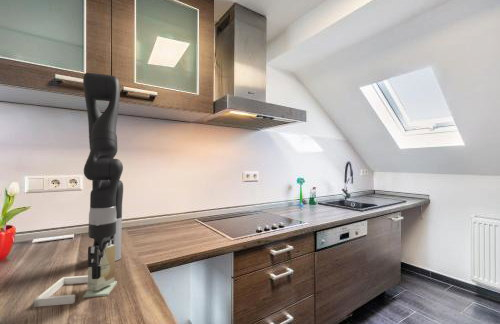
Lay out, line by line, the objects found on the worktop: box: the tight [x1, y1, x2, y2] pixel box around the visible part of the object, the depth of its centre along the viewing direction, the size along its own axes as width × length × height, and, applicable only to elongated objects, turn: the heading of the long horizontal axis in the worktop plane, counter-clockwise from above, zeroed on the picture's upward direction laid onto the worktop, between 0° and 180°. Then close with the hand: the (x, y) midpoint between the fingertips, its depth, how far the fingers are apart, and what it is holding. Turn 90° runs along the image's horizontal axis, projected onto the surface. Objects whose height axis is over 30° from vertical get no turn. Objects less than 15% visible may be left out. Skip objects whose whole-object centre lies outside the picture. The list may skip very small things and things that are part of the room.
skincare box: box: [86, 244, 116, 290], centre depth 75 cm, size 6×4×12 cm
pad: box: [83, 280, 118, 298], centre depth 75 cm, size 8×7×1 cm
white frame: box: [33, 274, 88, 308], centre depth 73 cm, size 14×10×2 cm
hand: (101, 272), depth 75 cm, fingers closed on skincare box, 7 cm apart
